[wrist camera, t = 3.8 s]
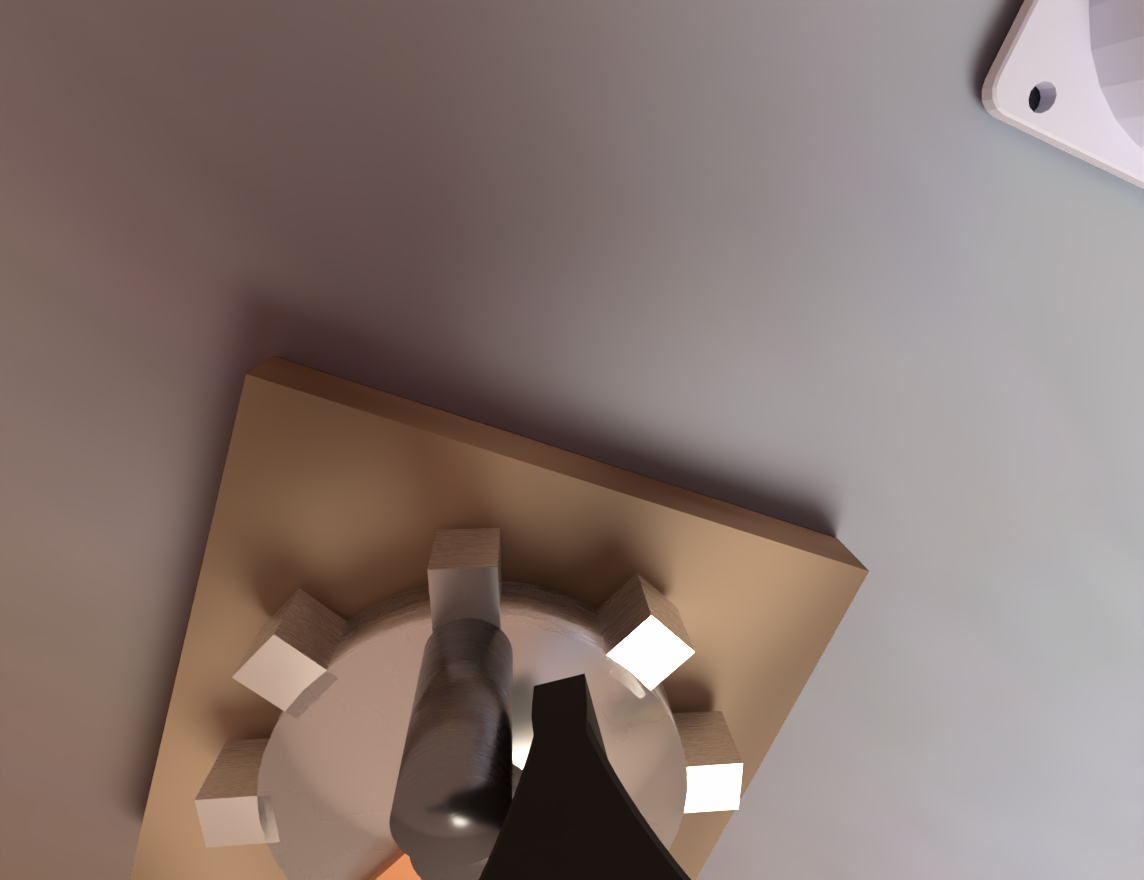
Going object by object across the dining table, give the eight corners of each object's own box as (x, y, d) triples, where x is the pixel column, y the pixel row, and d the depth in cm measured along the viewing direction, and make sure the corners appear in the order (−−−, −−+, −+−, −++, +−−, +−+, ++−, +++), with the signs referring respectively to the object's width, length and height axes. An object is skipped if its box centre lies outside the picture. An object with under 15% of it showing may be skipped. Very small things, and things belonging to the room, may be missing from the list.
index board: (837, 538, 16) (955, 660, 12) (630, 922, 20) (662, 1122, 15) (274, 356, 13) (164, 426, 9) (158, 833, 17) (41, 1040, 13)
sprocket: (737, 518, 13) (857, 687, 9) (705, 902, 17) (778, 1171, 12) (182, 540, 13) (-15, 739, 8) (269, 938, 16) (167, 1240, 11)
